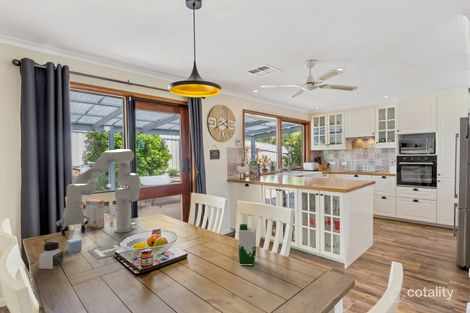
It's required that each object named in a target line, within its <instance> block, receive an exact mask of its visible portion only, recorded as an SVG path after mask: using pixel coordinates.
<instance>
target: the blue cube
mask: <svg viewBox="0 0 470 313" xmlns="http://www.w3.org/2000/svg"><path fill="white" fill-rule="evenodd" d="M82 243H83V242H82V239H81V238H80V237H77V238H71V239H67V240H66V251H67V252H68V253H70V254H72V253H76V252H79V251H80V252H81V251H83V250H82V248H83V247H82V246H83V245H82Z"/></svg>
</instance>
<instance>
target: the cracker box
mask: <svg viewBox="0 0 470 313" xmlns="http://www.w3.org/2000/svg"><path fill="white" fill-rule="evenodd" d="M85 216H86V217H89V218H90V220H89V222H88V223H87V224H86V226H85V228H86V227H87V228H93V229H97V230H98V229H102V228H104V227H105V200H104V199H95V198H90V199H86V200H85ZM86 220H87V219H85V221H86Z"/></svg>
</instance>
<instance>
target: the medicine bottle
mask: <svg viewBox="0 0 470 313" xmlns="http://www.w3.org/2000/svg"><path fill="white" fill-rule="evenodd" d="M59 246H60V243H59V241H58V240H57V241H55V240H53V241H48V242H46V243H44V245H43V252H42V253H40V254H39V256H38V260H39V263H38V265H39V266H38V267H39V268H38V269H40V270H54V269H56V268H57V267H59V266H61V265H62V264H63V263H64V250H63V249H60V248H59Z"/></svg>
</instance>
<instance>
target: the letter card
mask: <svg viewBox="0 0 470 313" xmlns="http://www.w3.org/2000/svg"><path fill="white" fill-rule="evenodd" d="M120 244H121V243H120V242H117V243H114V244H113V243H112V244H109V245H105V246H100V247H97V248H94V249H89V250H87V252H88V253H90V255H91V256H93V258H95V259H96V260H101V259H105V258H109V257H112V256H115V255H114V254H115V251H116V250H118V249H120V248H121V247H120Z"/></svg>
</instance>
